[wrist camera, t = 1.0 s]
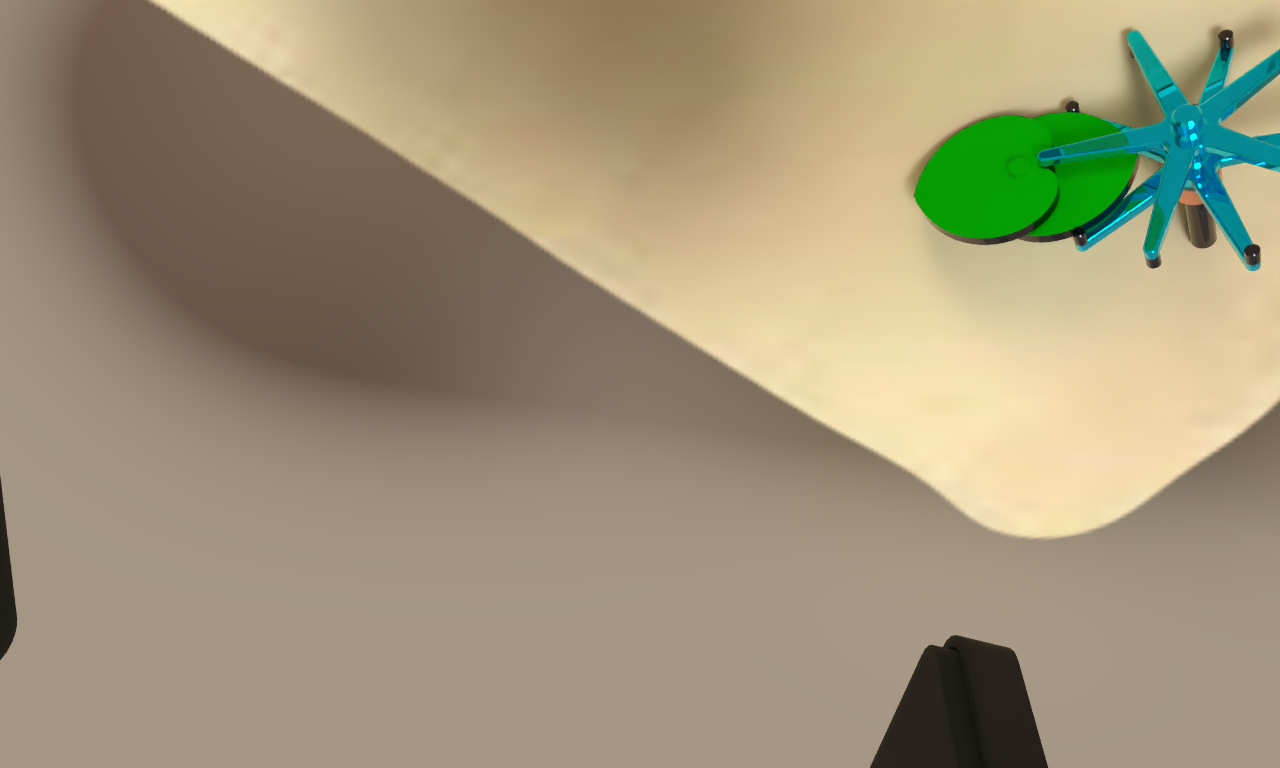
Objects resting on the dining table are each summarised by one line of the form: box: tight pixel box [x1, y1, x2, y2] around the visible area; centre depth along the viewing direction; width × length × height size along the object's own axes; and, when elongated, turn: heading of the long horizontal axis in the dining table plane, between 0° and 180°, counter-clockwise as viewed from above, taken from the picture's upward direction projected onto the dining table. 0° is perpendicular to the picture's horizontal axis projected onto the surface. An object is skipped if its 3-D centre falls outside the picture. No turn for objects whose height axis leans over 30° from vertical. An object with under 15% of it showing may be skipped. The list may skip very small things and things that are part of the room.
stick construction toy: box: [914, 29, 1280, 271], centre depth 33 cm, size 12×7×8 cm
